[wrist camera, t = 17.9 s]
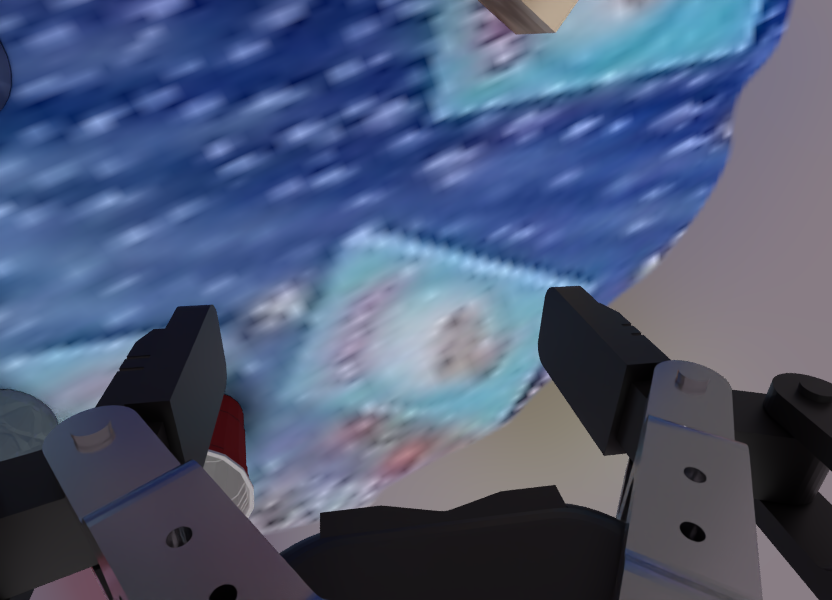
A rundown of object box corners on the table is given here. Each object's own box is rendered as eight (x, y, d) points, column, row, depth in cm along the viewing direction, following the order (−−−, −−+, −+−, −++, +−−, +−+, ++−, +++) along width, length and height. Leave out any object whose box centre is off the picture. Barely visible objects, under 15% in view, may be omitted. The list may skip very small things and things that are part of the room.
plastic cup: (256, 362, 51) (239, 445, 41) (276, 442, 56) (265, 534, 46) (144, 378, 50) (96, 468, 39) (175, 458, 55) (140, 557, 44)
